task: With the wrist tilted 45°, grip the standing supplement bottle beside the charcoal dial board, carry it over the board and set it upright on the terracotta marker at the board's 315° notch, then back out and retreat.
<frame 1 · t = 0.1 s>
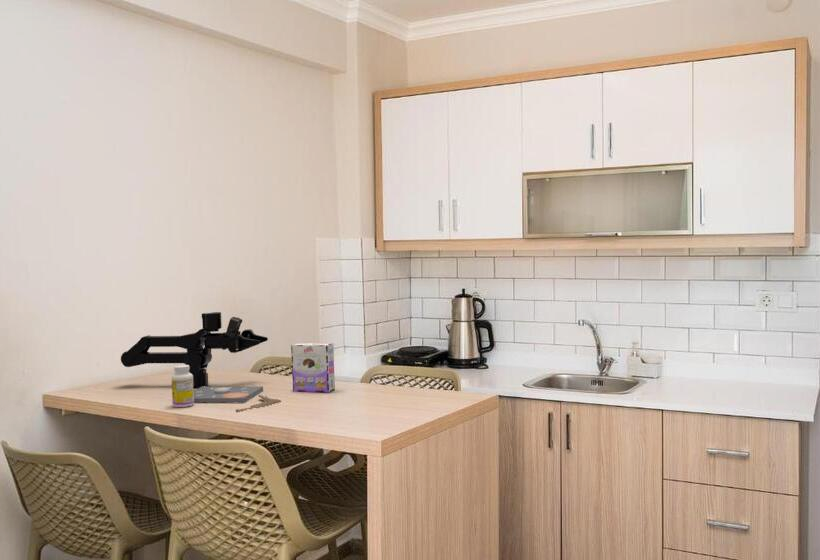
hand: (263, 340, 289), 17 cm above the table, tool horizontal, fingers open, 9 cm apart
brown flat branched piece: (251, 407, 258), on the table
supplement bottle: (183, 406, 259), on the table
candy box: (313, 391, 280), on the table
dial board: (222, 396, 273), on the table
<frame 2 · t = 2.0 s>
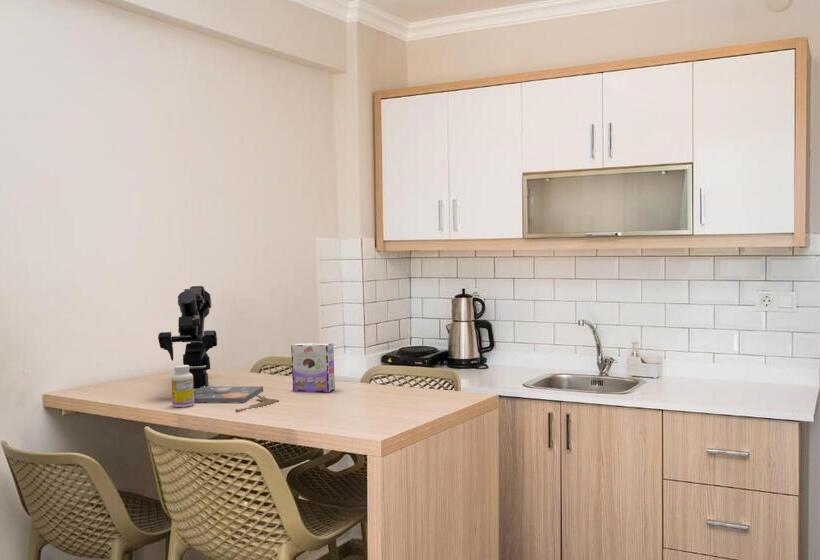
hand: (186, 359, 267), 14 cm above the table, tool tilted 45°, fingers open, 9 cm apart
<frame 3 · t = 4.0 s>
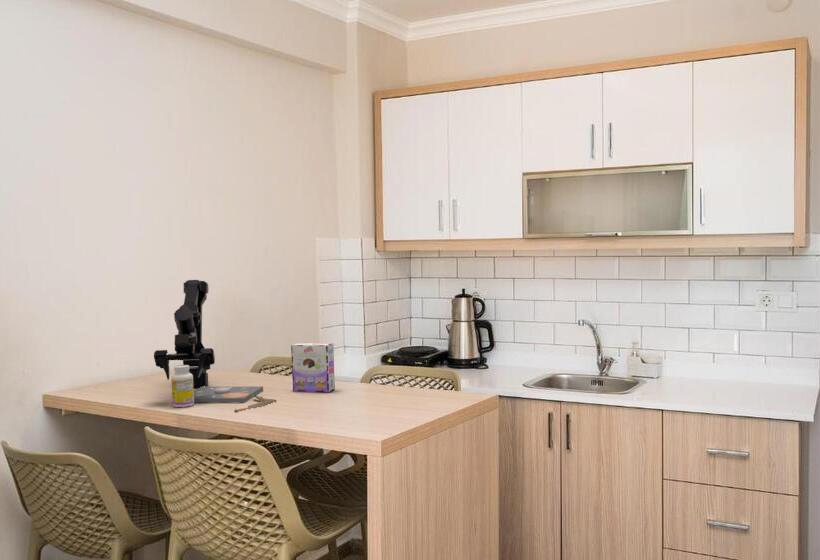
hand: (182, 378, 259), 9 cm above the table, tool tilted 45°, fingers open, 9 cm apart
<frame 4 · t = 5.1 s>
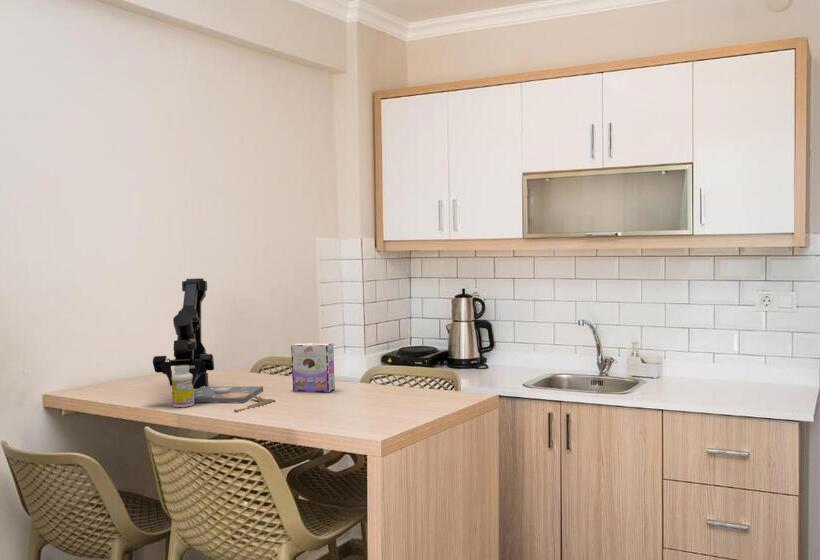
hand: (181, 384, 257), 7 cm above the table, tool tilted 45°, fingers closed on supplement bottle, 6 cm apart
supplement bottle: (183, 406, 259), on the table, touching gripper
when the fingers open (10 cm above the table, at t = 8.5 s): supplement bottle stays where it is, resting on dial board.
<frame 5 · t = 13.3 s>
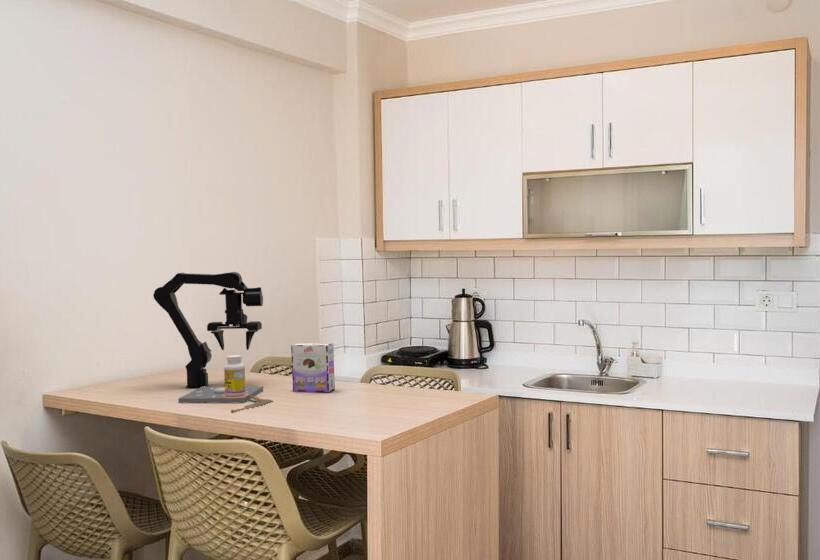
hand: (235, 349, 293), 13 cm above the table, tool pointing down, fingers open, 9 cm apart
supplement bottle: (235, 395, 266), point 2 cm above the table, touching dial board
at the end: supplement bottle 0.2 cm from the target spot on the dial board, point 1.5 cm above the dial board's base; supplement bottle tilted 0°; the gripper is holding nothing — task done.
